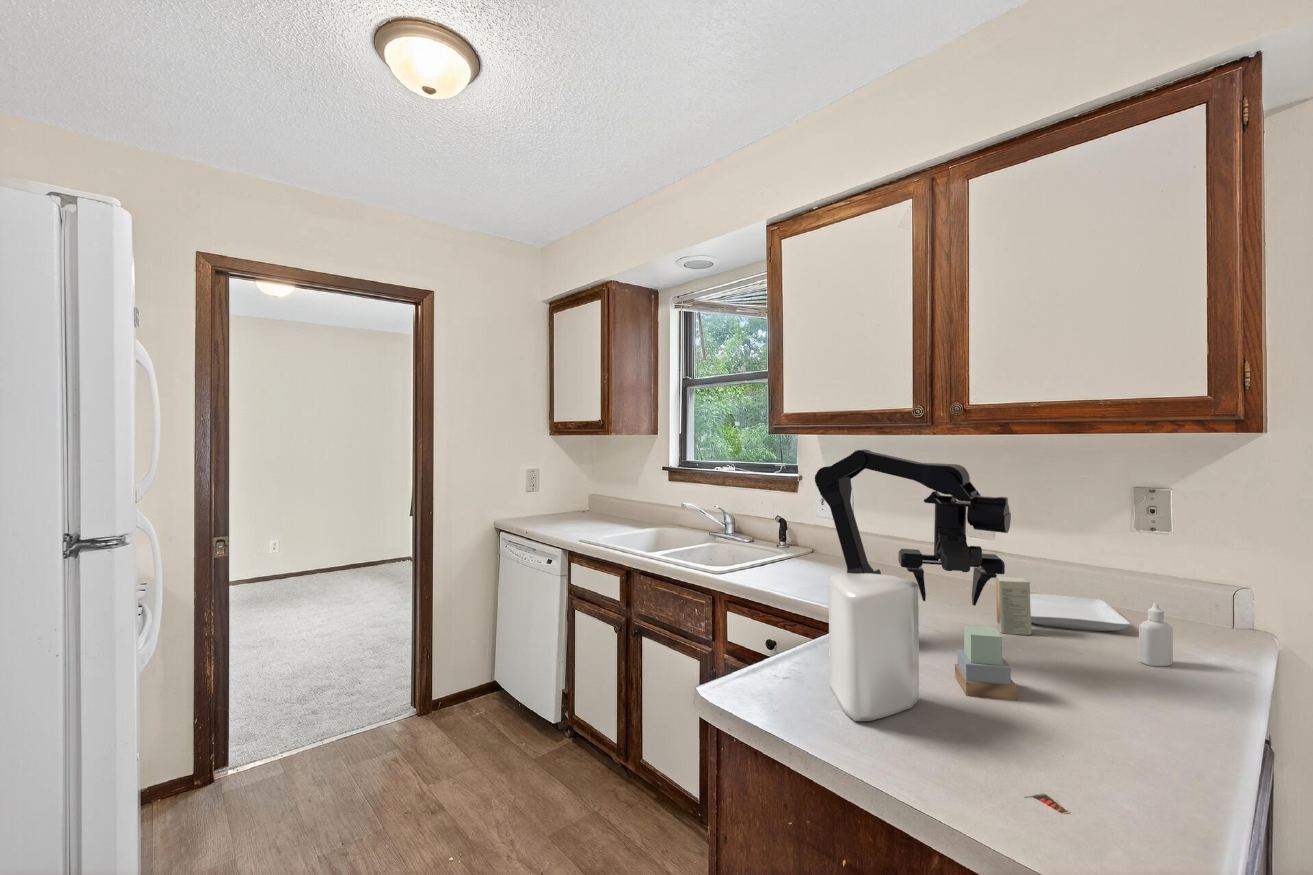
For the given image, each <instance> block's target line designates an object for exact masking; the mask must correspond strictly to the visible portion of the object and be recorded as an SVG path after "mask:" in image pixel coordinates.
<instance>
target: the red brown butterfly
mask: <svg viewBox="0 0 1313 875" xmlns="http://www.w3.org/2000/svg"><path fill="white" fill-rule="evenodd" d="M1026 798H1027V799H1028V798H1033V799H1035V800H1038V801H1039V802H1041V803H1043V804H1045V805H1046V806H1048V807H1050V808H1052V809H1053V810H1055V811H1057V812H1058V813H1060V815H1064V814H1070V813H1071V811H1069V809H1067V808H1066V807H1065V806H1063V805H1062V804H1061V803H1059V800H1058V799H1054V798H1052V797H1051V796H1050V795H1048V794H1046V793H1041V794H1040V793H1039V794H1038V793H1037V794H1035V795H1034V794H1033V795H1030V796H1024V797H1023V799H1026ZM1019 803H1022V801H1020V802H1019Z"/></svg>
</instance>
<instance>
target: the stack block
mask: <svg viewBox="0 0 1313 875" xmlns="http://www.w3.org/2000/svg"><path fill="white" fill-rule="evenodd" d="M963 635H964V636H963V643H964V644H963V646H964V648H963V650H964V653H965V654H966V656H967V657H968V659H969V660H970V662H971V663H981V664H993V665H1003V662H1002V657H1003V636H1002V634H1000V632H999V631H998V630H997V629H996V628H995V627H990V626H977V625H976V626H975V625H963Z"/></svg>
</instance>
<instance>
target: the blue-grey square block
mask: <svg viewBox="0 0 1313 875" xmlns="http://www.w3.org/2000/svg"><path fill="white" fill-rule="evenodd" d="M956 652H957V654H956V655H957V664H958V667H959V669H960V671H961V672H962V674H963V676H964V678H965V679H966V681H972V682H983V683H994V684H1006V685H1011V680H1012V668H1011V667H1010V664H1008V662H1007V661H1006V660H1005V659H1004V657H1003V656H1002V662H1003V665H993V664H981V663H971V662H970V660H969V659H968V657H967V656H966V654H965V653H964V649H957V651H956Z"/></svg>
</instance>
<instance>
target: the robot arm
mask: <svg viewBox="0 0 1313 875" xmlns="http://www.w3.org/2000/svg"><path fill="white" fill-rule="evenodd" d="M865 469H866V470H871V471H874V472H878V473H882V474H886V475H890V476H894V477H898V478H903V479H907V480H911V481H913V482H917V483H919V484H921V485H923V486H924V487H926V488H928V489H931V490H933V491H931V493H930V495H929V496H927V497H926V498H924V499H923V502H924V503H925V504H934V527H933V529H934V531H933V538H934V539H933V554H924V553H922V552H921V551H920V550H919V549H913V548H911V549H910V548H900V550H899V551H898V558H897V560H898V563H899V565H900V567H901V568H905V569H906V570H907V571H908V572H910V573H913V576H914V578H915V580H916V584H918V591H919V593H920V596H921V600H922V601H923V602H926V596H927V594H926V585H925V574H924V573H925V571H924V569H923V567H922V566H923V565H925V564H926V565H938V566H941V568H942V569H943V570H944V571H947V572H953V571H956V572H962V573H969V572H970V571H971V568H973V575H972V576H973V578H972V586H971V587H972V588H971V604H972V606H976V605H977V603H978V601H979V599H980V596H981V594H982V591H983V589H984V587H985V585H986V584H987V582H988V581H990V579H996V577H998V575H1004V574H1005V572H1006V571H1005V570H1006V569H1005V568H1006V565H1005V561H1003V559H1002V558H1000V557H999V556H998V555H997V554H995V553H994V554H993V553H983V549H982V547H981V546H977V545H970V546H969V544H968V543H967V533H966V532H967V524H969V526H971V527H972V528H973V530H976V531H977V530H978V531H984V532H991V533H992V532H993V533H994V532H995V533H1002V534H1008V533H1009V531H1010V527H1011V519H1012V514H1011V512H1010V511H1011V510H1010V506H1009V499H1008V497H1006V496H997V497H992V496H984V495H983V496H982V495H981V493H979V491H978V489H976V487H975V486H974V485H973V483H972V482H971V480H970V478H971V477H970V474H969V472H968V470H967V469H966V467H964V466H962V465H960V464H956V463H939V462H937V463H935V462H934V463H933V462H932V463H931V462H929V463H928V462H920V461H915V460H911V459H907V458H903V457H896V456H893V455H889V454H884V453H880V452H879V453H878V452H874V451H871V450H870V449H857V450H855V451H853V452H852V453H851V454H849V455H848V456H846V457H844V458H843V459H840V460H838V461H836V462H835V463H833V464H832V465H829V466H822V467H821V468H819V469H818V470H817V471H816V473H815V475H814V483H815V485H816V488H817V490H818V492H819V494H820V496H821V498H822V499H823V501H825V503H827V505H828V506H829V508H830V512H831V516H832V518H833V522H834V526H835V529H836V530H835V531H836V533H837V536H838V541H839V543H840V547H841V551H842V555H843V559H844V561H845V565H846V573H854V574H863V573H871V574H882V573H881V570H880V569H879V568H878V569H876V570H874V569H873V568H872V567H871V565H870V563H869V561H868V558H867V554H866V552H865V548H864V545H863V541H862V538H861V535H860V531H859V528H858V523H857V521H856V517H855V513H854V510H853V507H852V503H851V501H852V500H851V498H852V490H853V486H852V479H853V478H855V477H857V476H859V475H860V473H861V472H863V471H864V470H865ZM941 494H942V495H941Z"/></svg>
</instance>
